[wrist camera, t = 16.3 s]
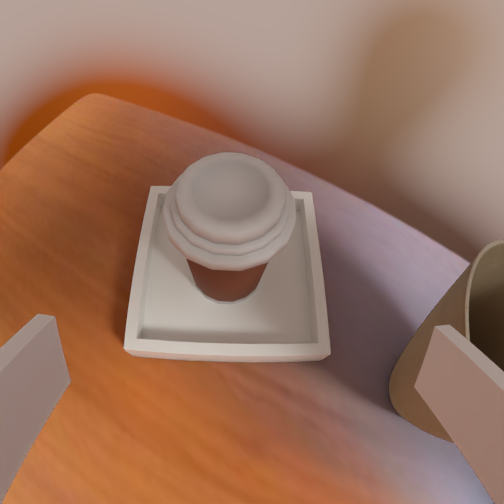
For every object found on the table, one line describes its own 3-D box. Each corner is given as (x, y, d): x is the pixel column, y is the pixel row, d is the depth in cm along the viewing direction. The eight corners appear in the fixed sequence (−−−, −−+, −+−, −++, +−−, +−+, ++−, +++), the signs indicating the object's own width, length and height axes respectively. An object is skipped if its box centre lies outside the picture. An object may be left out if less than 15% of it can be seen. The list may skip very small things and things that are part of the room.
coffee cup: (162, 256, 30) (137, 170, 20) (241, 218, 33) (252, 127, 23) (209, 337, 27) (200, 280, 16) (293, 287, 30) (331, 211, 19)
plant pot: (482, 413, 25) (593, 381, 11) (378, 480, 22) (500, 504, 8) (441, 300, 32) (535, 224, 18) (333, 341, 29) (426, 263, 15)
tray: (305, 209, 36) (311, 192, 33) (320, 360, 28) (330, 354, 25) (155, 203, 35) (150, 185, 32) (132, 356, 26) (123, 348, 24)
